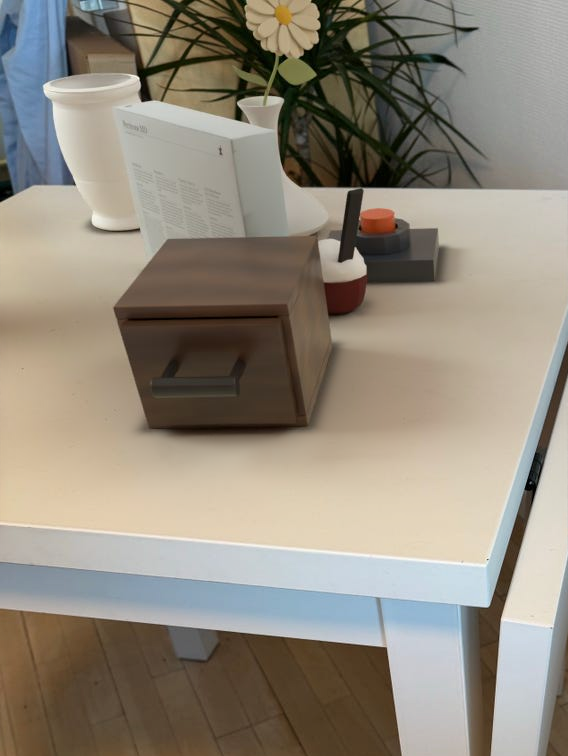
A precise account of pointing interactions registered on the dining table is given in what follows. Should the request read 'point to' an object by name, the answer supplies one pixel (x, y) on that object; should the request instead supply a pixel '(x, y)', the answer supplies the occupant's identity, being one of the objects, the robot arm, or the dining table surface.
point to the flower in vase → (289, 36)
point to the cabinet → (243, 298)
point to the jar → (96, 142)
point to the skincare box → (200, 175)
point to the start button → (377, 221)
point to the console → (397, 253)
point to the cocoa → (344, 262)
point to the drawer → (211, 370)
